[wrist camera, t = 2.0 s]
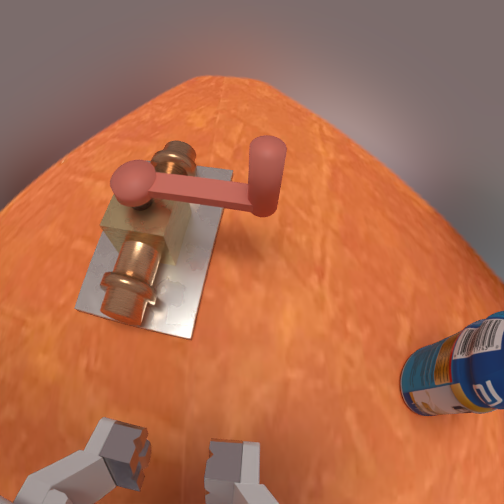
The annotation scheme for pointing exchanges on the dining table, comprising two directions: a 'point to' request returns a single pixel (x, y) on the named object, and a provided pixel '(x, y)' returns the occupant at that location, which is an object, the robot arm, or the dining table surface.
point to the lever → (208, 183)
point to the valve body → (155, 255)
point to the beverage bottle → (458, 372)
